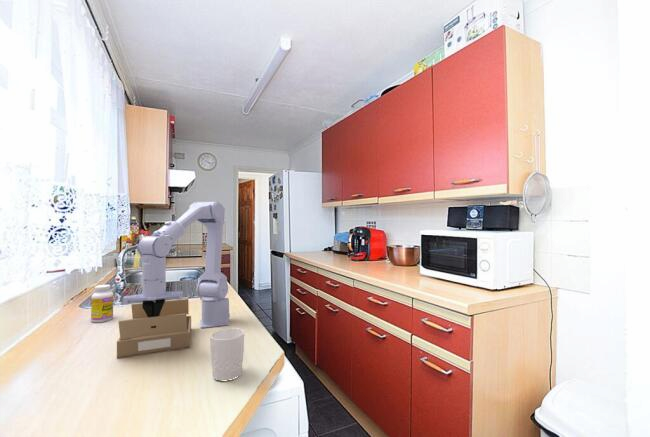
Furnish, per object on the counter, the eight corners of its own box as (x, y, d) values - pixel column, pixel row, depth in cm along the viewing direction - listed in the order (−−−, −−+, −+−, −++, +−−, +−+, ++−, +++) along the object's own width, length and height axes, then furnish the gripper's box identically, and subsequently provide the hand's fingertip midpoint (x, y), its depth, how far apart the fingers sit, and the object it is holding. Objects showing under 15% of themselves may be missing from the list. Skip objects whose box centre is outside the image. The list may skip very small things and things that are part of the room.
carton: (191, 328, 105) (191, 315, 105) (189, 347, 89) (189, 332, 89) (130, 336, 98) (130, 322, 98) (116, 358, 82) (116, 341, 82)
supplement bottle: (101, 323, 110) (101, 288, 110) (86, 322, 111) (86, 287, 111) (117, 317, 116) (117, 284, 117) (103, 316, 118) (103, 283, 118)
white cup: (215, 367, 77) (215, 328, 77) (246, 366, 78) (246, 327, 78) (205, 384, 69) (205, 340, 69) (241, 382, 70) (241, 339, 70)
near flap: (186, 313, 87) (186, 314, 87) (186, 329, 89) (186, 330, 89) (118, 320, 81) (118, 321, 81) (120, 338, 83) (120, 339, 83)
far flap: (188, 314, 104) (188, 313, 104) (188, 299, 102) (188, 298, 103) (132, 320, 98) (132, 319, 98) (131, 304, 96) (131, 303, 96)
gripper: (120, 283, 79) (120, 335, 79) (181, 279, 85) (181, 328, 85) (126, 278, 86) (126, 326, 86) (183, 274, 91) (183, 320, 91)
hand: (154, 326), depth 86 cm, fingers closed, pressing on near flap
